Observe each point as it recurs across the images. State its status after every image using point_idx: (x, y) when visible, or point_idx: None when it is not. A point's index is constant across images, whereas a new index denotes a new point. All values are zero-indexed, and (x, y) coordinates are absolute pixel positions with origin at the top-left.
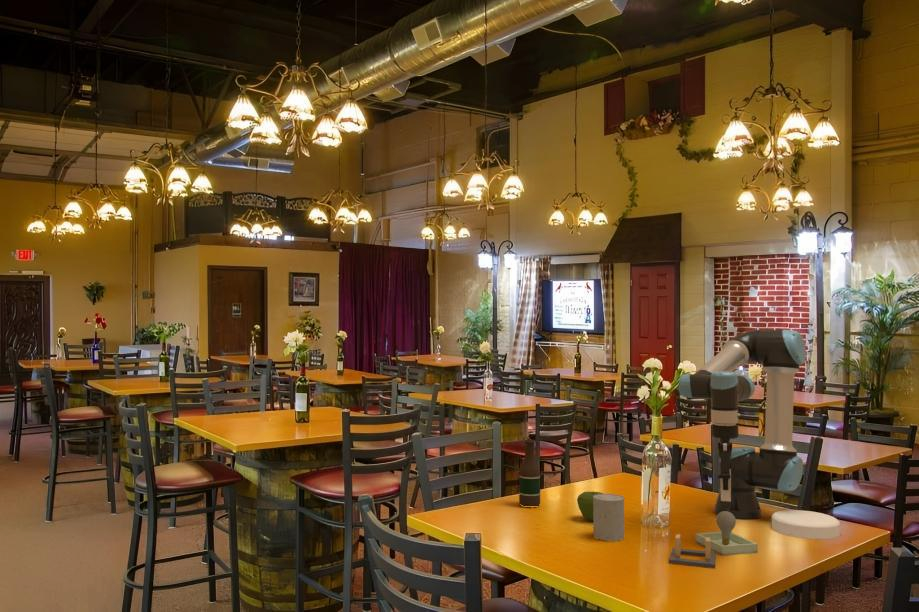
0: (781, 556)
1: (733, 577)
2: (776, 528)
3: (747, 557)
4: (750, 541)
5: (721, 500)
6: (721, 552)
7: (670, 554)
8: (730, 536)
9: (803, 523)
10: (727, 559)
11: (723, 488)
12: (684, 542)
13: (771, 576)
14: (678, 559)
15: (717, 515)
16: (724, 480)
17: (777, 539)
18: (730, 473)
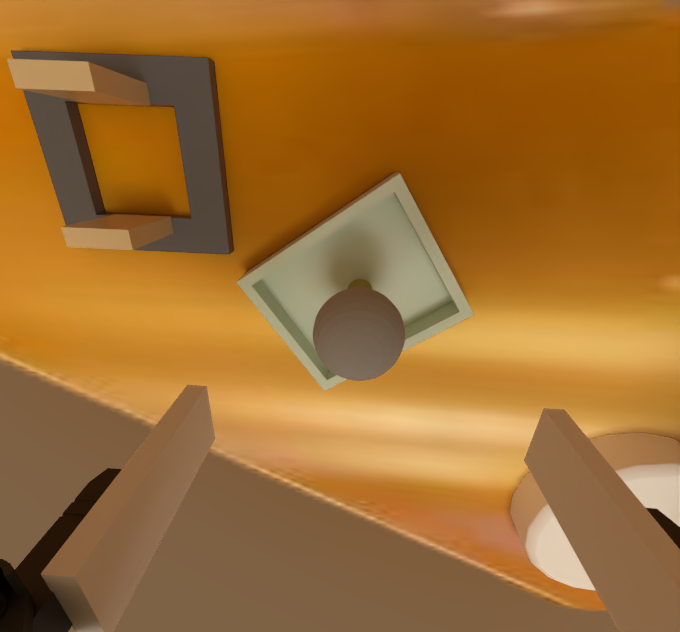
0: (312, 423)
1: (31, 295)
2: (596, 447)
3: (261, 343)
4: None
5: (187, 390)
6: (248, 271)
7: (90, 53)
8: (442, 312)
9: (545, 527)
10: (208, 286)
11: (92, 484)
12: (377, 119)
13: (111, 385)
14: (40, 99)
15: (356, 306)
16: (22, 580)
17: (493, 432)
18: (617, 623)
